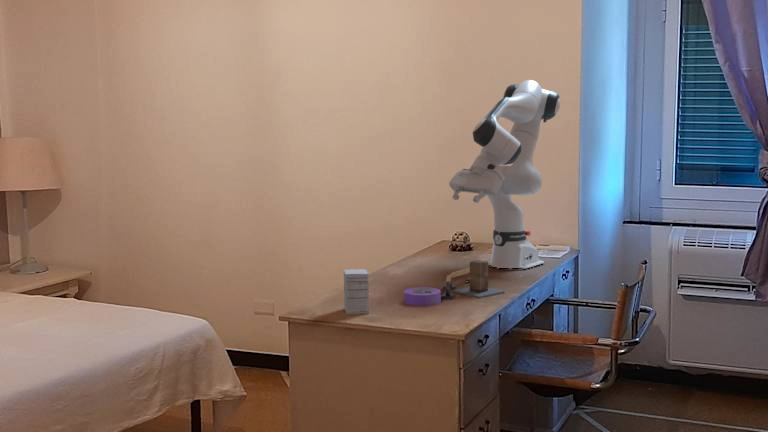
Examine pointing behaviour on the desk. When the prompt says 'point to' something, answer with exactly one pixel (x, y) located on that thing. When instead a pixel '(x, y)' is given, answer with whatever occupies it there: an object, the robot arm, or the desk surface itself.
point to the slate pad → (478, 295)
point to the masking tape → (422, 296)
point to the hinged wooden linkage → (448, 283)
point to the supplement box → (356, 291)
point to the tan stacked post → (479, 276)
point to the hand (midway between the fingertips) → (464, 200)
